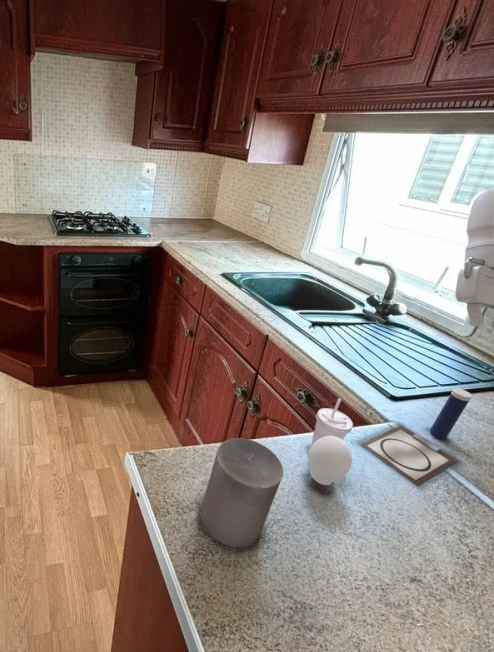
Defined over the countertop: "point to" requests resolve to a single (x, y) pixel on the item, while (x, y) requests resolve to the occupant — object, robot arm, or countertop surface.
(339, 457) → the light bulb
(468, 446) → the countertop surface
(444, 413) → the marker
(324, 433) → the smoothie
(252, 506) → the pillar candle
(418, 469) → the clipboard
